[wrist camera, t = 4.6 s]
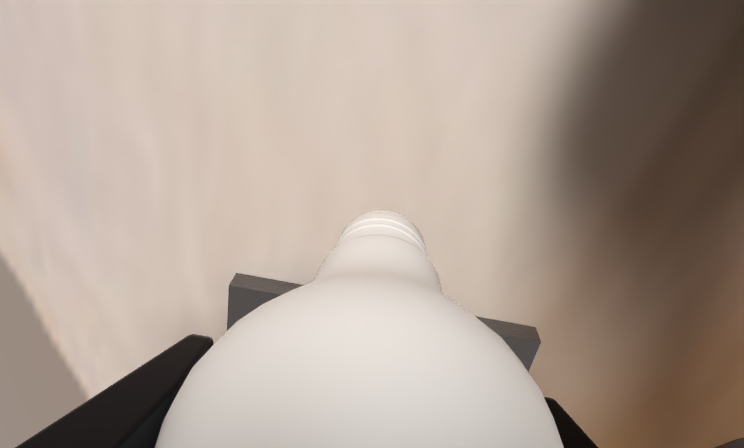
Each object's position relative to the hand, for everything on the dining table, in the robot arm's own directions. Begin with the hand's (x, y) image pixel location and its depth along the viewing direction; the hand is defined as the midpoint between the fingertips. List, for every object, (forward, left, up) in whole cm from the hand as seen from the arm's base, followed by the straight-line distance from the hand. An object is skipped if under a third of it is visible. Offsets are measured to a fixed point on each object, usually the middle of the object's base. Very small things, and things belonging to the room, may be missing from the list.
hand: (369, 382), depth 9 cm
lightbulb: (0, 0, -6) cm, 6 cm away
